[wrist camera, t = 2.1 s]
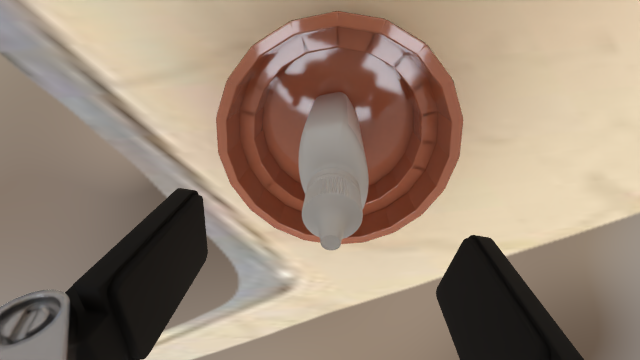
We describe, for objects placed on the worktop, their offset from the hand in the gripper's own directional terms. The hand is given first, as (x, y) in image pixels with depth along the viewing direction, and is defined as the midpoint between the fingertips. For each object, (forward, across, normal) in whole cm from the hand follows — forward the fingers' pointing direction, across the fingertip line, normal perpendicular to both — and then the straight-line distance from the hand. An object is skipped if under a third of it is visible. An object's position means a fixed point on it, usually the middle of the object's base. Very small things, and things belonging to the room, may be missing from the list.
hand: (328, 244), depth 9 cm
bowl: (+12, 0, -1) cm, 12 cm away
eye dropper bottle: (+12, 0, -1) cm, 12 cm away
